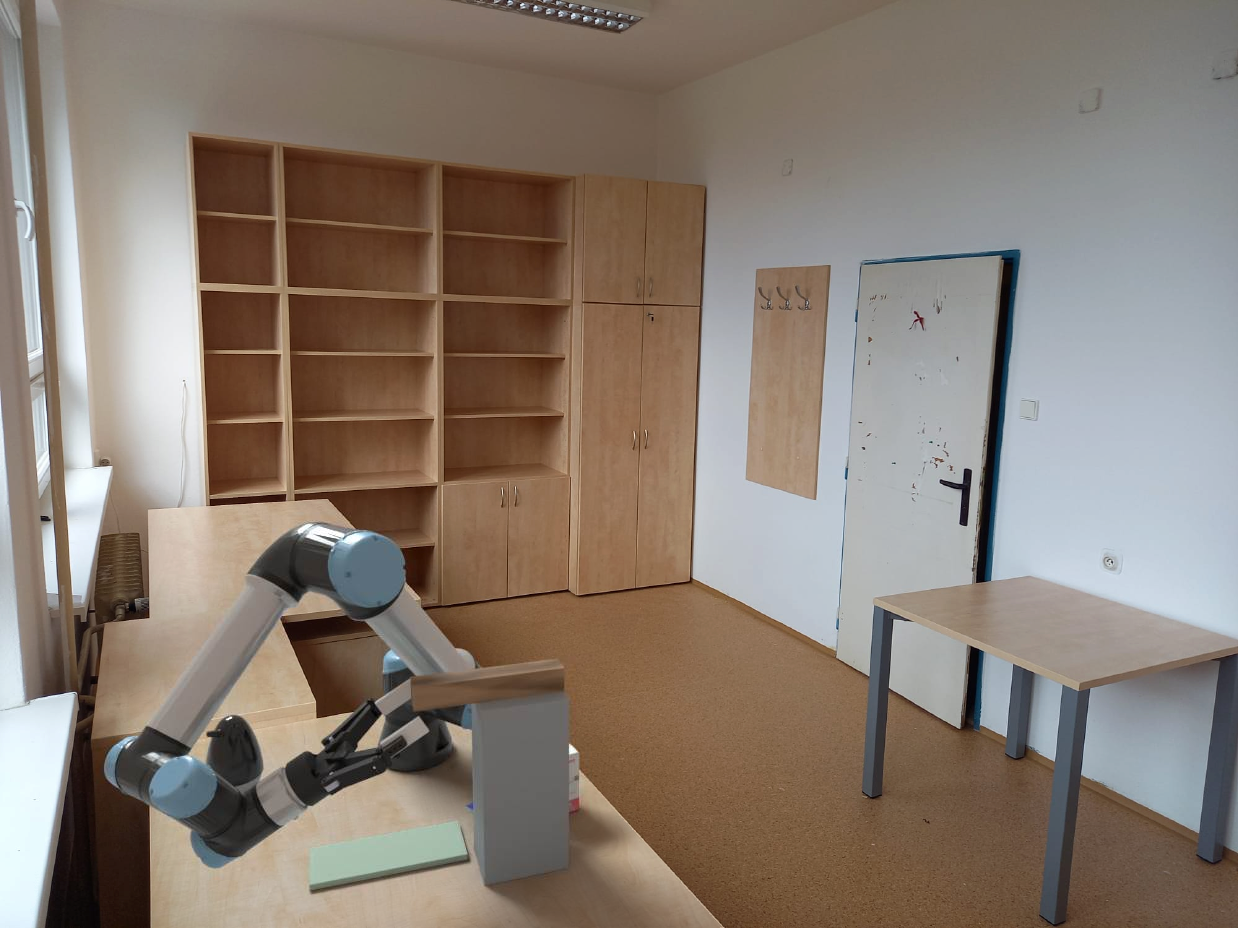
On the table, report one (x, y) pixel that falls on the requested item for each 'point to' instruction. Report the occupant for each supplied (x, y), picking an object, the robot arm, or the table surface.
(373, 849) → the mat
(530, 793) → the stand
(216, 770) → the pump dispenser
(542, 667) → the walnut bar
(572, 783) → the ink box
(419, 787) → the table surface
